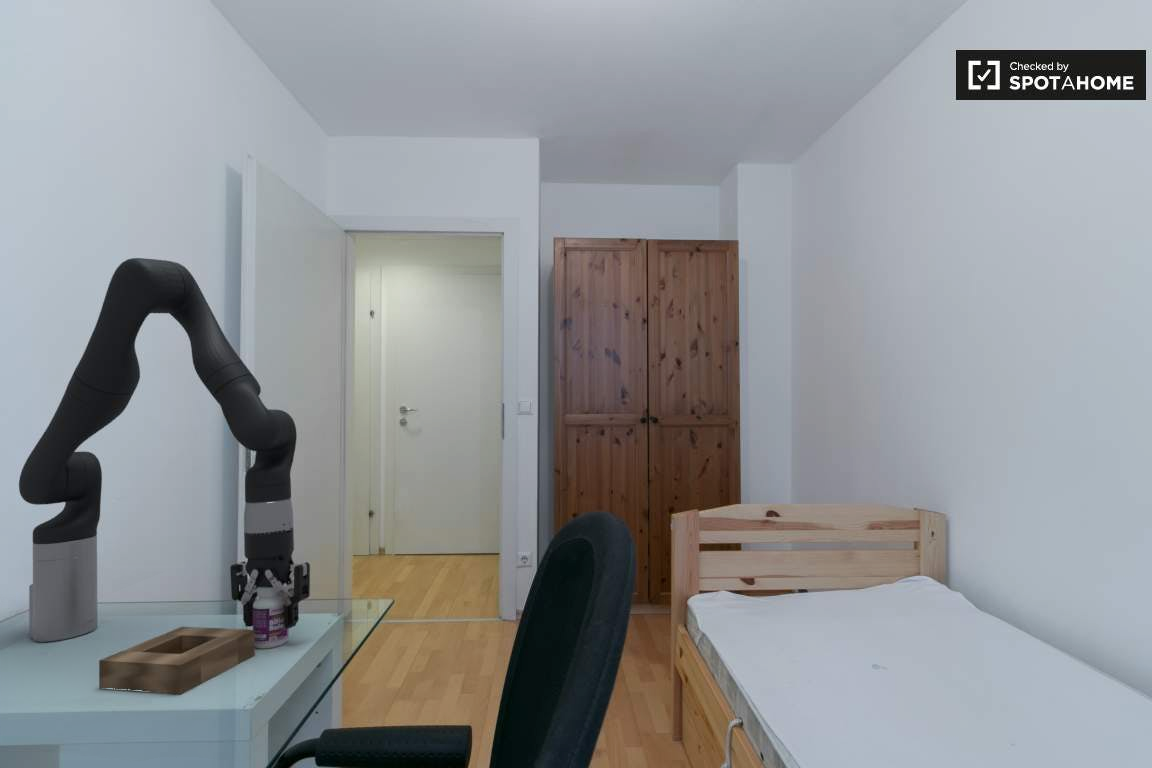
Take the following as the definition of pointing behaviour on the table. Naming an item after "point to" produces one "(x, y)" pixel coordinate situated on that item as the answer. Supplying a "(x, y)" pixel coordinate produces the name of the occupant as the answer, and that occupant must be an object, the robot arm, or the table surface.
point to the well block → (177, 660)
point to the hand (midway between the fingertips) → (271, 625)
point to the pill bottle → (269, 619)
